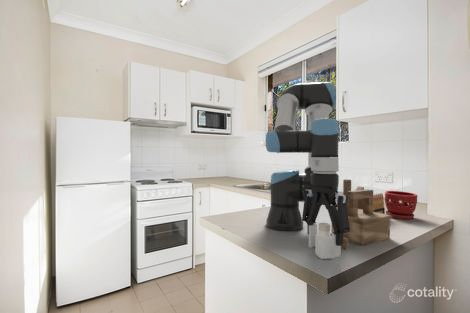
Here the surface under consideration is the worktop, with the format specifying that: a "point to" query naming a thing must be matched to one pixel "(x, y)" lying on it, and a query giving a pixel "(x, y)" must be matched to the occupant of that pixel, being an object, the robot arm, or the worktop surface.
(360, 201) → the wooden block
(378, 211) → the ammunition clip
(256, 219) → the worktop surface
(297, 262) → the worktop surface
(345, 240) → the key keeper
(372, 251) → the worktop surface
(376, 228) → the open wooden box
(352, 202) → the wooden post stand
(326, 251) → the pepper shaker
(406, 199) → the plant pot
